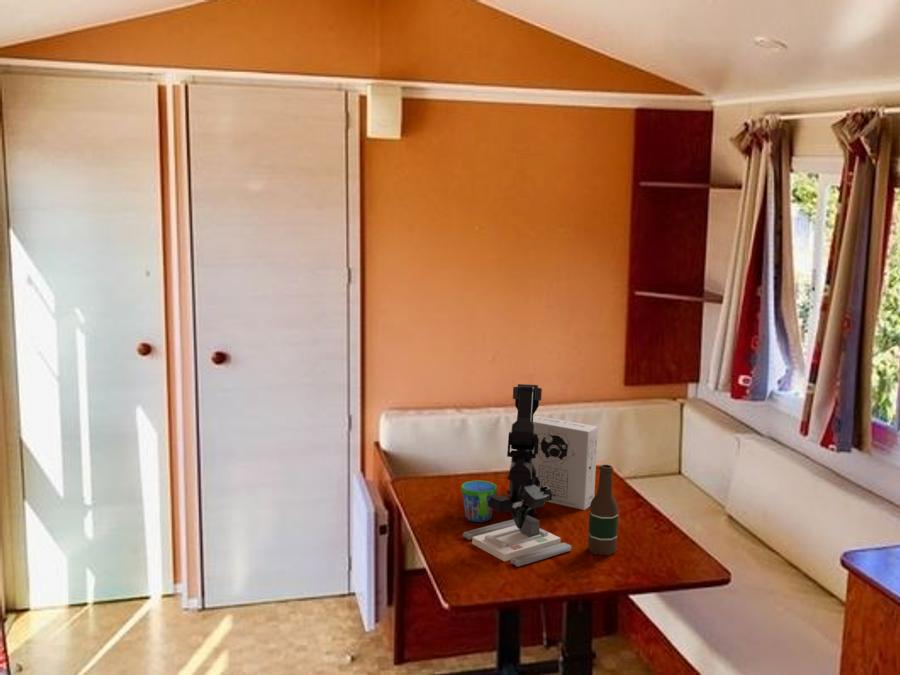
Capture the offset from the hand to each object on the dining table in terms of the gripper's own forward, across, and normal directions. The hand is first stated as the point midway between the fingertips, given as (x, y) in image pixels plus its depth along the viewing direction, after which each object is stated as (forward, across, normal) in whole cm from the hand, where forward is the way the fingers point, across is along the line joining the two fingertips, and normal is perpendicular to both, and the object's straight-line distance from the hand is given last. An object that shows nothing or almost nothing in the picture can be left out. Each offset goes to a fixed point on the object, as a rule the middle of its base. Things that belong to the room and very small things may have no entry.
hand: (519, 528), depth 248 cm
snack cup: (+5, +2, +21) cm, 22 cm away
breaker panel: (+5, -1, 0) cm, 5 cm away
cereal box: (+5, +33, +20) cm, 39 cm away
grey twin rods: (+5, -1, 0) cm, 5 cm away
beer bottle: (+5, +16, -16) cm, 23 cm away
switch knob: (+2, +4, 0) cm, 4 cm away
